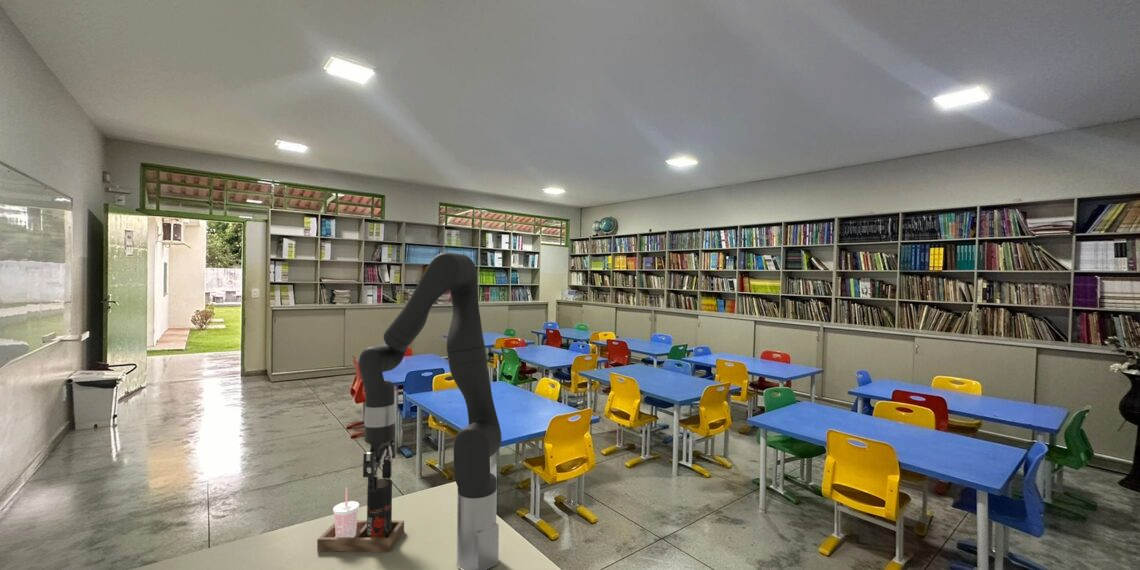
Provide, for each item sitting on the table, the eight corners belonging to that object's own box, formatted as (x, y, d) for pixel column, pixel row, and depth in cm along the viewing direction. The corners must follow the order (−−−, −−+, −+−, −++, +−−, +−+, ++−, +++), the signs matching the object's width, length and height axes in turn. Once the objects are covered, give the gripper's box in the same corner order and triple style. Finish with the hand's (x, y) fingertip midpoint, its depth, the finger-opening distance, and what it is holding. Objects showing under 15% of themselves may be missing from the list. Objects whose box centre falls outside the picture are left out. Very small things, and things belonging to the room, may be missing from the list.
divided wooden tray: (404, 531, 122) (404, 520, 122) (389, 552, 112) (389, 539, 112) (337, 531, 122) (337, 520, 122) (317, 551, 112) (317, 539, 113)
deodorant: (395, 536, 119) (396, 479, 120) (382, 549, 114) (383, 489, 114) (375, 534, 121) (376, 477, 121) (361, 546, 115) (362, 487, 115)
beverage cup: (362, 534, 121) (362, 481, 121) (353, 547, 115) (354, 491, 115) (338, 535, 120) (338, 482, 120) (328, 548, 114) (329, 492, 114)
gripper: (383, 429, 111) (383, 496, 110) (404, 414, 125) (404, 473, 125) (352, 430, 111) (352, 496, 110) (377, 414, 125) (377, 473, 125)
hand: (380, 484), depth 118 cm, fingers open, 8 cm apart
